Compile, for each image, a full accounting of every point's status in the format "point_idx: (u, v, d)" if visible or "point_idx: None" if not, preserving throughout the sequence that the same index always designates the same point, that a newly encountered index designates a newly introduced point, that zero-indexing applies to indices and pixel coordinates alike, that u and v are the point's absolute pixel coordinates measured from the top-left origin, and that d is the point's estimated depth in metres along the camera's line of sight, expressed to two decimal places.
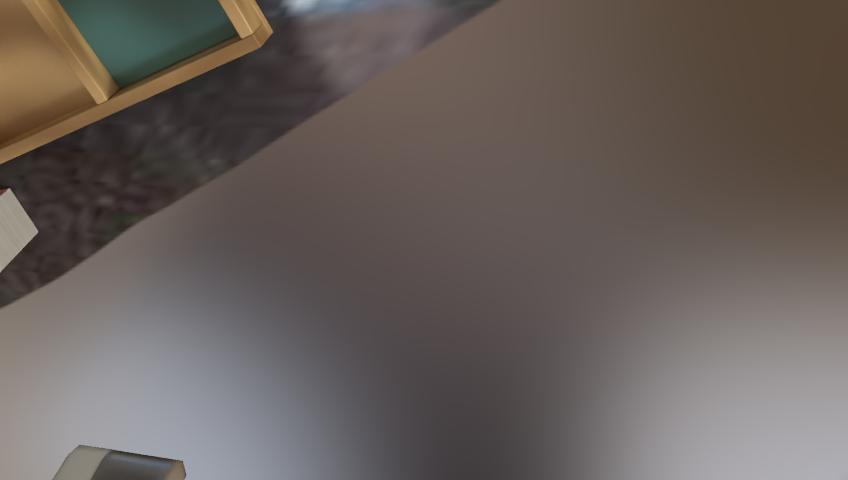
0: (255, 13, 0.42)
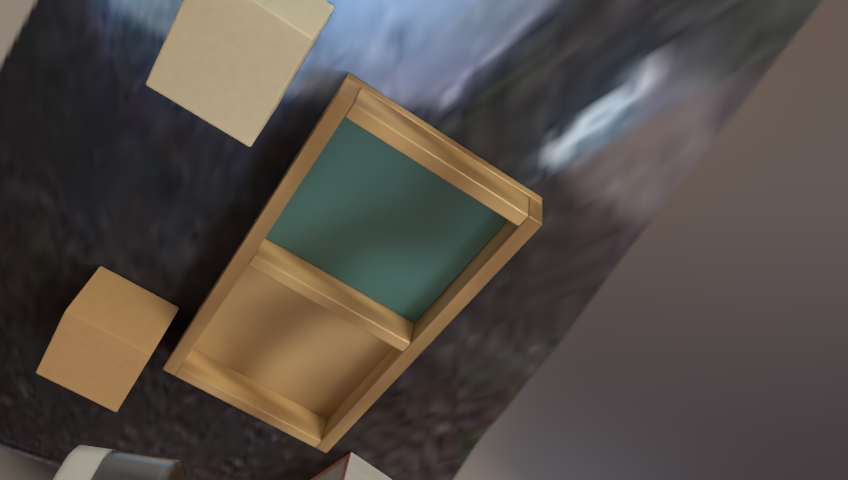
0: (518, 191, 0.36)
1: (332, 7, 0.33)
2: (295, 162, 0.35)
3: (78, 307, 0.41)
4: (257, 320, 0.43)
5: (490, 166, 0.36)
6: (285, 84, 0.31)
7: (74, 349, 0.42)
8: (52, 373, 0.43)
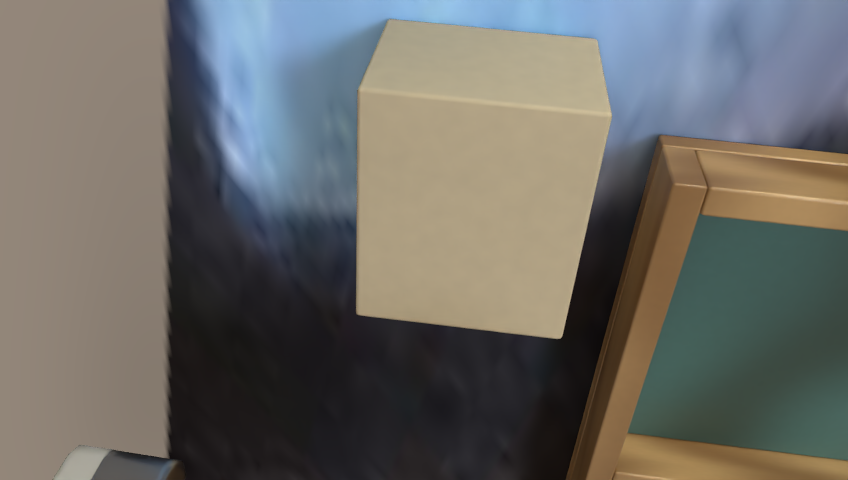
0: None
1: (595, 42, 0.18)
2: (635, 320, 0.20)
3: None
4: None
5: None
6: (587, 215, 0.16)
7: None
8: None
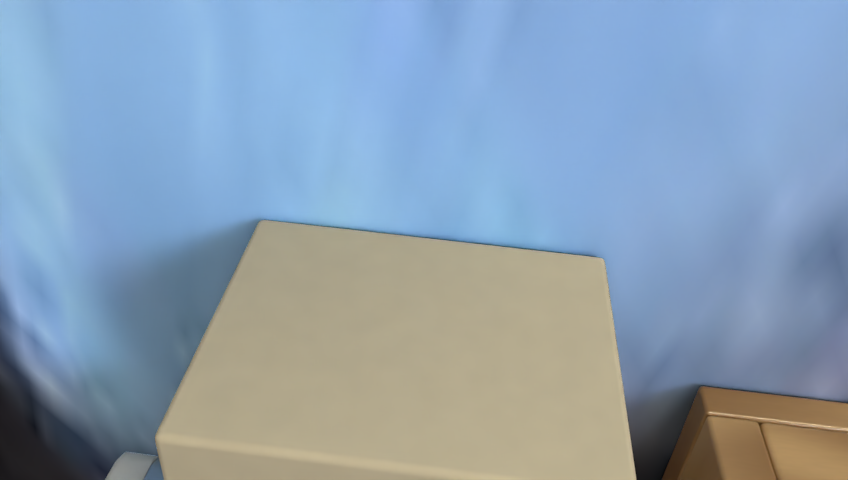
0: None
1: (601, 268, 0.11)
2: None
3: None
4: None
5: None
6: None
7: None
8: None
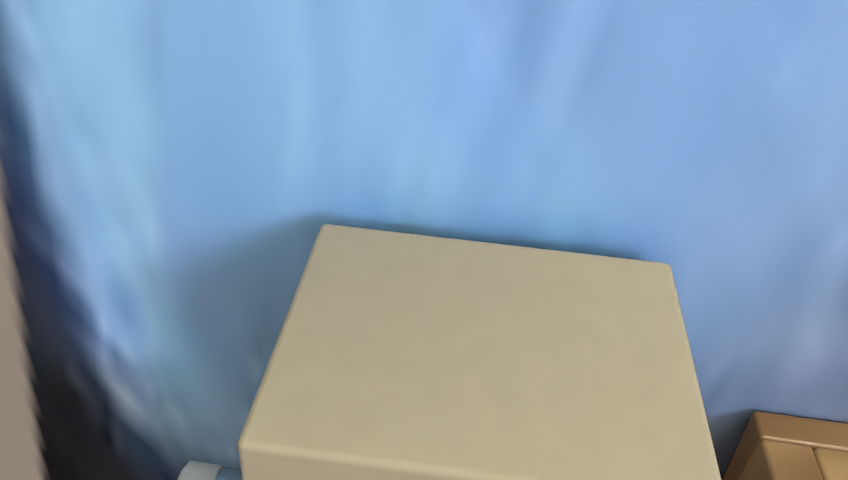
0: None
1: (668, 274, 0.10)
2: None
3: None
4: None
5: None
6: None
7: None
8: None
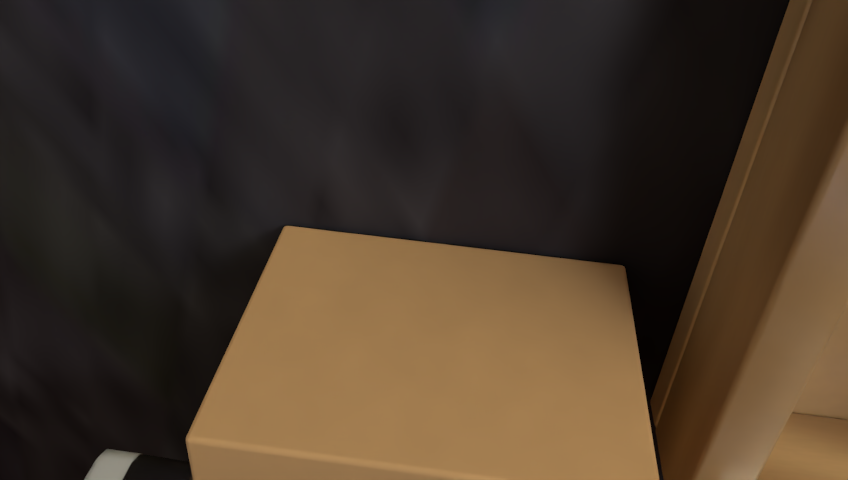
0: None
1: None
2: None
3: (241, 404, 0.08)
4: None
5: None
6: None
7: None
8: None
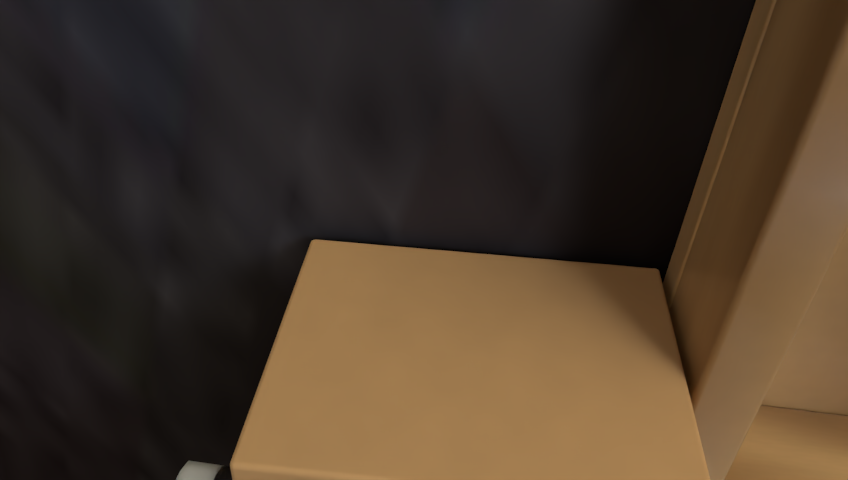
0: None
1: None
2: None
3: (284, 427, 0.08)
4: None
5: None
6: None
7: None
8: None
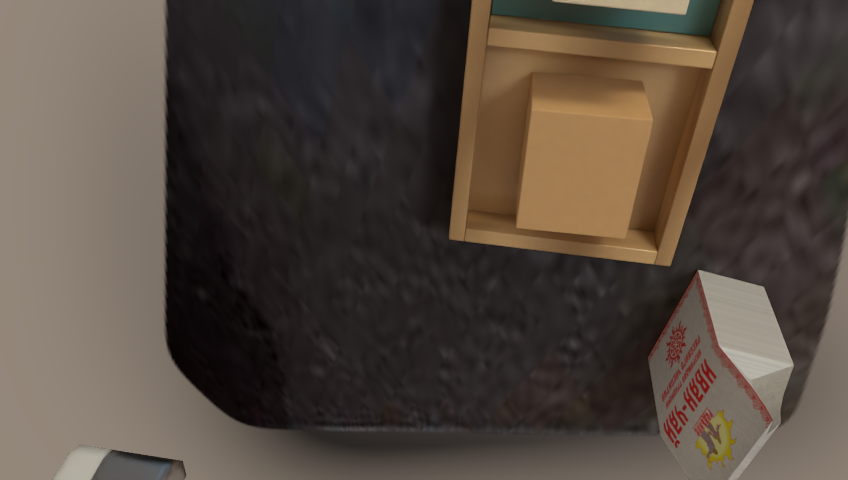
0: None
1: None
2: None
3: (542, 104, 0.32)
4: None
5: None
6: None
7: (554, 166, 0.33)
8: (535, 217, 0.34)
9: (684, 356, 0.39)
